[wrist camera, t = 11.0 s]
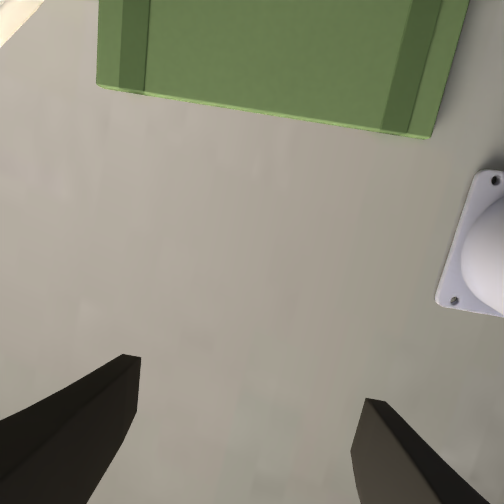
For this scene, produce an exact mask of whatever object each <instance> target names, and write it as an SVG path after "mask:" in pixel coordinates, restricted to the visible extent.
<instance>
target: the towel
mask: <svg viewBox="0 0 504 504" xmlns="http://www.w3.org/2000/svg"><path fill="white" fill-rule="evenodd" d="M469 2H470V0H99V15H98V45H97V74H96V84H97V85H98V86H100V87H102V88H104V89H110V90H116V91H123V92H129V93H135V94H141V95H148V96H154V97H160V98H167V99H173V100H179V101H185V102H192V103H198V104H204V105H210V106H217V107H223V108H229V109H236V110H242V111H248V112H254V113H261V114H267V115H273V116H279V117H286V118H292V119H298V120H304V121H311V122H317V123H323V124H329V125H336V126H342V127H348V128H355V129H361V130H367V131H373V132H379V133H385V134H392V135H398V136H405V137H411V138H417V139H423V140H424V139H428V138H431V135H432V132H433V128H434V125H435V121H436V118H437V114H438V111H439V107H440V104H441V100H442V97H443V93H444V89H445V86H446V82H447V79H448V75H449V72H450V68H451V65H452V61H453V58H454V54H455V51H456V47H457V44H458V40H459V37H460V33H461V30H462V26H463V23H464V19H465V16H466V12H467V9H468V5H469Z"/></svg>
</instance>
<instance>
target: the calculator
mask: <svg viewBox="0 0 504 504" xmlns="http://www.w3.org/2000/svg"><path fill="white" fill-rule="evenodd" d="M43 2H44V0H0V47H1V46H2V45H3V44H4V43H5V42H6V41H7V40H8V39H9V38H10V37H11V36H12V35H13V34H14V33H15V32H16V31H17V30H18V29H19V28H20V27H21V26H22V25H23V24H24V23H25V22H26V21H27V20H28V19H29V18H30V17H31V16H32V15H33V14H34V13H35V11H36V10H37V9H38V8H39V7H40V6H41V4H42V3H43Z"/></svg>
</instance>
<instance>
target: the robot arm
mask: <svg viewBox="0 0 504 504" xmlns="http://www.w3.org/2000/svg"><path fill="white" fill-rule="evenodd" d="M494 176H496V178H497V181H496V183H495V184H492V183H491V179H492V178H493V177H494ZM453 297H456V300H455V301H454V302H450V300H451V298H453ZM435 301H436V302H437V303H438V304H439V305H440V306H443V307H448V308H453V309H459V310H465V311H470V312H476V313H482V314H487V315H493V316H499V317H504V171H498V170H492V169H482V170H479V171H478V172H477V173H476V174H475V176H474V178H473V181H472V184H471V187H470V190H469V193H468V196H467V199H466V202H465V205H464V208H463V211H462V215H461V218H460V221H459V224H458V227H457V230H456V233H455V236H454V239H453V242H452V245H451V248H450V251H449V254H448V258H447V261H446V264H445V267H444V270H443V273H442V276H441V279H440V282H439V285H438V288H437V291H436V294H435ZM140 367H141V357H136V356H131V355H125V354H122V355H120V356H118V357H117V358H115V359H113V360H111V361H110V362H108V363H106V364H105V365H103V366H101V367H100V368H98V369H96V370H95V371H93V372H91V373H90V374H88V375H86V376H85V377H83V378H81V379H79V380H78V381H76V382H74V383H72V384H71V385H69V386H67V387H66V388H64V389H62V390H60V391H58V392H56V393H54V394H52V395H51V396H49V397H47V398H45V399H43V400H41V401H39V402H37V403H35V404H34V405H32V406H30V407H28V408H26V409H24V410H22V411H20V412H18V413H15V414H13V415H11V416H9V417H7V418H5V419H3V420H0V504H86V503H87V502H88V500H89V498H90V497H91V495H92V493H93V492H94V490H95V488H96V487H97V485H98V483H99V482H100V480H101V478H102V477H103V475H104V473H105V472H106V470H107V468H108V467H109V465H110V463H111V462H112V460H113V458H114V457H115V455H116V453H117V451H118V450H119V448H120V446H121V445H122V443H123V441H124V438H125V436H126V434H127V432H128V430H129V428H130V425H131V423H132V421H133V419H134V416H135V414H136V412H137V403H138V391H139V379H140ZM351 457H352V464H353V471H354V476H355V482H356V487H357V491H358V495H359V499H360V502H361V504H490V503H489V502H488V501H486V500H485V499H484V498H483V497H482V496H481V495H480V494H479V493H478V492H477V491H475V490H474V489H473V488H472V487H471V486H470V485H469V484H468V483H467V482H466V481H465V480H464V479H463V478H462V477H460V476H459V475H458V474H457V473H456V472H455V471H454V470H453V469H452V468H451V467H450V466H449V465H448V464H447V463H446V462H445V461H444V460H443V459H442V458H441V457H440V456H439V455H438V454H437V453H436V452H435V451H434V450H433V449H432V448H431V447H430V446H429V445H428V444H427V443H426V442H425V441H424V440H423V439H422V438H421V437H420V436H419V435H418V434H417V433H416V432H415V431H414V430H413V429H412V428H411V427H410V426H409V424H408V423H407V422H406V421H405V420H404V419H403V418H402V417H401V416H400V415H399V414H398V413H397V412H396V411H395V410H394V409H393V408H392V407H391V406H390V405H389V404H388V403H386V402H385V401H380V400H375V399H369V398H366V399H365V402H364V406H363V409H362V413H361V416H360V420H359V423H358V427H357V430H356V433H355V437H354V440H353V444H352V447H351Z"/></svg>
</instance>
